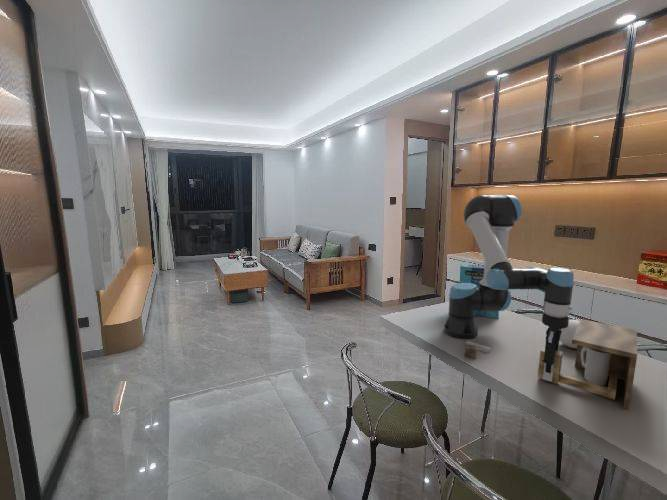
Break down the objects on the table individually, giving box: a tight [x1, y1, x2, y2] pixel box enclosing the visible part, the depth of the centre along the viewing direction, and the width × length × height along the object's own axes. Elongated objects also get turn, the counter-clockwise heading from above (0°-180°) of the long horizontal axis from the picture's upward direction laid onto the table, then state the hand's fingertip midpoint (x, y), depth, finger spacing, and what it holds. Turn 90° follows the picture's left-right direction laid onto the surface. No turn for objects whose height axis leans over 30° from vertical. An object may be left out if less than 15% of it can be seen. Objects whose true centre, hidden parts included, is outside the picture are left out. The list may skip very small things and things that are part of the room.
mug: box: [581, 347, 612, 386], centre depth 119 cm, size 10×7×12 cm, turn 7°
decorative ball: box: [559, 319, 580, 349], centre depth 143 cm, size 12×12×12 cm
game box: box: [459, 263, 500, 320], centre depth 181 cm, size 20×6×27 cm, turn 66°
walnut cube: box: [464, 344, 477, 360], centre depth 136 cm, size 4×4×4 cm
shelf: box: [572, 318, 638, 412], centre depth 114 cm, size 16×24×18 cm, turn 139°
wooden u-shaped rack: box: [537, 346, 619, 401], centre depth 116 cm, size 21×14×10 cm, turn 48°
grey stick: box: [465, 340, 492, 354], centre depth 143 cm, size 10×2×2 cm, turn 45°
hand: (548, 377), depth 118 cm, fingers closed on wooden u-shaped rack, 4 cm apart
